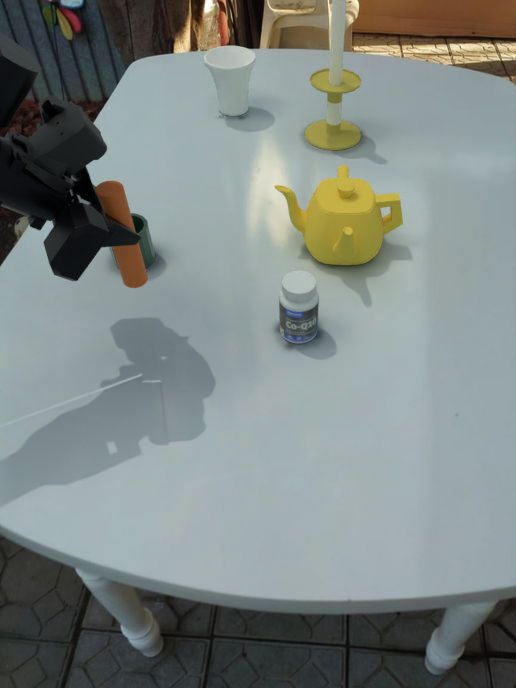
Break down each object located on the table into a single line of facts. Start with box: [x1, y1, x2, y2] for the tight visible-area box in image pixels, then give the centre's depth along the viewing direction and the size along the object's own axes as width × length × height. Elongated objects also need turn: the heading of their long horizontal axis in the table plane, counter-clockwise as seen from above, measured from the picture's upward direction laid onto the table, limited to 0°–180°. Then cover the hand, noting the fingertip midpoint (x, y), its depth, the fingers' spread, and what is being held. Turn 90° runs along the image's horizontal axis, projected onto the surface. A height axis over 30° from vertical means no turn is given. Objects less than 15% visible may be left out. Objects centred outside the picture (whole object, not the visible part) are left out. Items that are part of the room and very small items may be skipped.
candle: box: [304, 0, 362, 151], centre depth 93 cm, size 10×10×27 cm
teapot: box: [274, 164, 404, 266], centre depth 81 cm, size 14×13×10 cm
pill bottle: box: [278, 270, 320, 344], centre depth 70 cm, size 5×5×8 cm
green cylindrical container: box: [108, 212, 156, 269], centre depth 79 cm, size 6×6×6 cm
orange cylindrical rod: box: [95, 180, 149, 289], centre depth 64 cm, size 3×3×12 cm
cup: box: [203, 45, 257, 117], centre depth 105 cm, size 9×9×10 cm
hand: (135, 232), depth 64 cm, fingers closed on orange cylindrical rod, 3 cm apart
